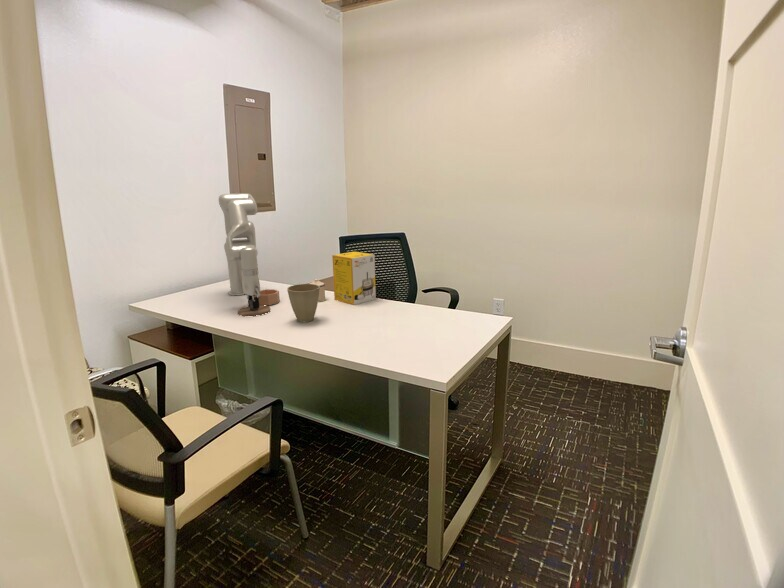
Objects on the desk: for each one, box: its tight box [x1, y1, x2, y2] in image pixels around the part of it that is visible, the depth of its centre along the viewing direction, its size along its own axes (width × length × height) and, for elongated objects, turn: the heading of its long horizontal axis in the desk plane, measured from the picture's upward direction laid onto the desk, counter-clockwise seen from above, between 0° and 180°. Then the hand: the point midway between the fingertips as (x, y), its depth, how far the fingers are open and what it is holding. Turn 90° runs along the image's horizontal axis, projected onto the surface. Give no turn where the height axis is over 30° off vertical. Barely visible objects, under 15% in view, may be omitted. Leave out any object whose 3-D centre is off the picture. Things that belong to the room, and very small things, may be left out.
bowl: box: [254, 289, 281, 306], centre depth 238 cm, size 12×12×6 cm
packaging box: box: [331, 251, 377, 306], centre depth 240 cm, size 16×16×25 cm
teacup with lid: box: [308, 278, 326, 303], centre depth 243 cm, size 12×9×12 cm
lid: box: [237, 299, 271, 317], centre depth 222 cm, size 16×16×6 cm
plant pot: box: [286, 283, 320, 323], centre depth 207 cm, size 15×15×16 cm
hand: (253, 307), depth 222 cm, fingers closed on lid, 4 cm apart
